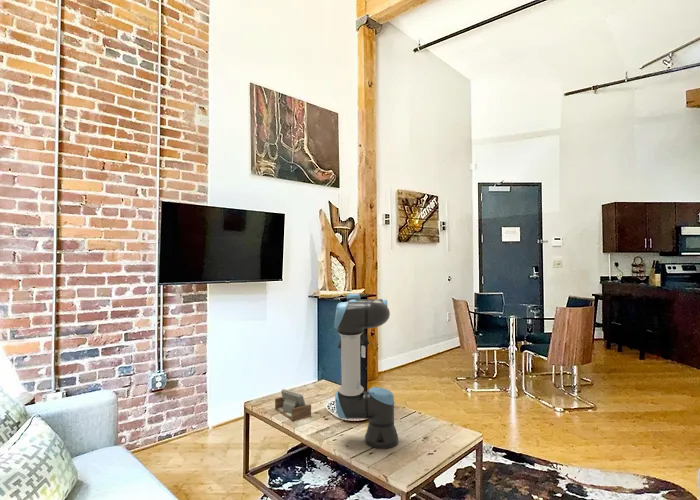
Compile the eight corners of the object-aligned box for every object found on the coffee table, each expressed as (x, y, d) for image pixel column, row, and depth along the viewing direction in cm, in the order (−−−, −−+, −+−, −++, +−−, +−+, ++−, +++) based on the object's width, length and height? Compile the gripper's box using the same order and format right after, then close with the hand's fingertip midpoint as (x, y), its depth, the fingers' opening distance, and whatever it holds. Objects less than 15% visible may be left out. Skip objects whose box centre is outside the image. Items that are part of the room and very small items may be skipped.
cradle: (311, 416, 217) (311, 404, 217) (292, 421, 210) (292, 409, 210) (292, 405, 233) (292, 394, 233) (275, 409, 227) (275, 398, 227)
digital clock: (308, 413, 218) (308, 393, 219) (294, 417, 213) (294, 396, 213) (292, 404, 231) (292, 385, 231) (278, 408, 225) (278, 389, 225)
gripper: (366, 318, 241) (367, 354, 241) (331, 322, 227) (331, 361, 226) (375, 320, 235) (375, 357, 235) (339, 324, 221) (339, 364, 220)
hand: (354, 359), depth 231 cm, fingers open, 13 cm apart
